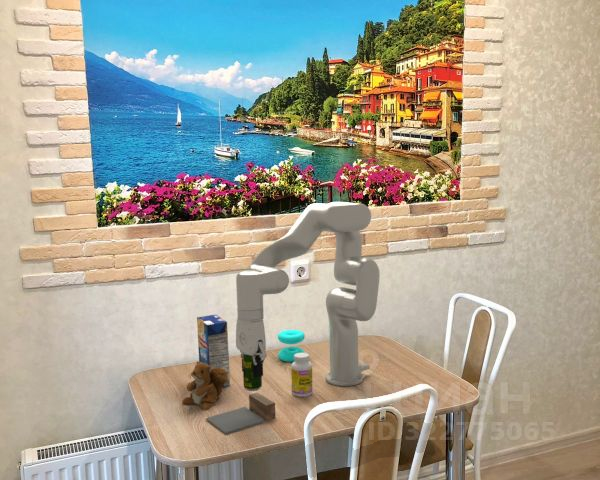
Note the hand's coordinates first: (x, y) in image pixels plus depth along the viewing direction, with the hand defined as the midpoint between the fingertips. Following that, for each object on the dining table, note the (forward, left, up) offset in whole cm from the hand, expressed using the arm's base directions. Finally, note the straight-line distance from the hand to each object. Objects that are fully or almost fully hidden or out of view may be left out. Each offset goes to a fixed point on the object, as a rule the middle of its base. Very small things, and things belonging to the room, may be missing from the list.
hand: (252, 373), depth 187 cm
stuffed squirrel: (+6, -19, -13) cm, 24 cm away
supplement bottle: (-21, -5, -13) cm, 25 cm away
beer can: (0, 0, -5) cm, 5 cm away
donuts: (-37, -35, -13) cm, 53 cm away
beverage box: (-3, -31, -13) cm, 34 cm away
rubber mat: (+6, 0, -13) cm, 15 cm away
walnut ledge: (-3, 0, -13) cm, 13 cm away
